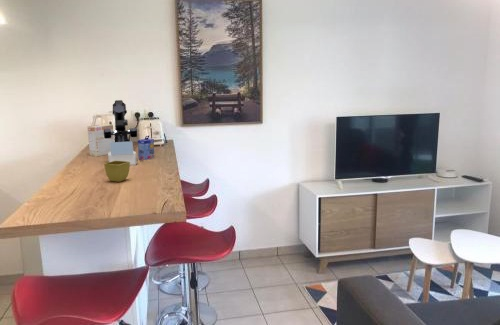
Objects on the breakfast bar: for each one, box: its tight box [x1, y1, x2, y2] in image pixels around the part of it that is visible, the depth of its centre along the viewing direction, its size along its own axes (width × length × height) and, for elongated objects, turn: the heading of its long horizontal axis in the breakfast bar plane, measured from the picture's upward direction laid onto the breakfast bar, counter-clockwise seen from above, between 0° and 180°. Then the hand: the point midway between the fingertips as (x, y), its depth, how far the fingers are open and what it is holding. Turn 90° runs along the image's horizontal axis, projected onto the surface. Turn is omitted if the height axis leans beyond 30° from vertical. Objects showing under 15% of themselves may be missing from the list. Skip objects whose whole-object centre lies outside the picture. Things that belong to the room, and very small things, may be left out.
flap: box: [110, 140, 134, 155], centre depth 232 cm, size 1×12×7 cm, turn 108°
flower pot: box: [103, 161, 131, 183], centre depth 197 cm, size 9×9×9 cm
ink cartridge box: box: [137, 135, 155, 161], centre depth 254 cm, size 10×6×14 cm, turn 158°
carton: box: [107, 150, 138, 166], centre depth 239 cm, size 13×15×6 cm
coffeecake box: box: [86, 123, 115, 158], centre depth 270 cm, size 15×7×20 cm, turn 144°
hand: (121, 144), depth 238 cm, fingers closed
